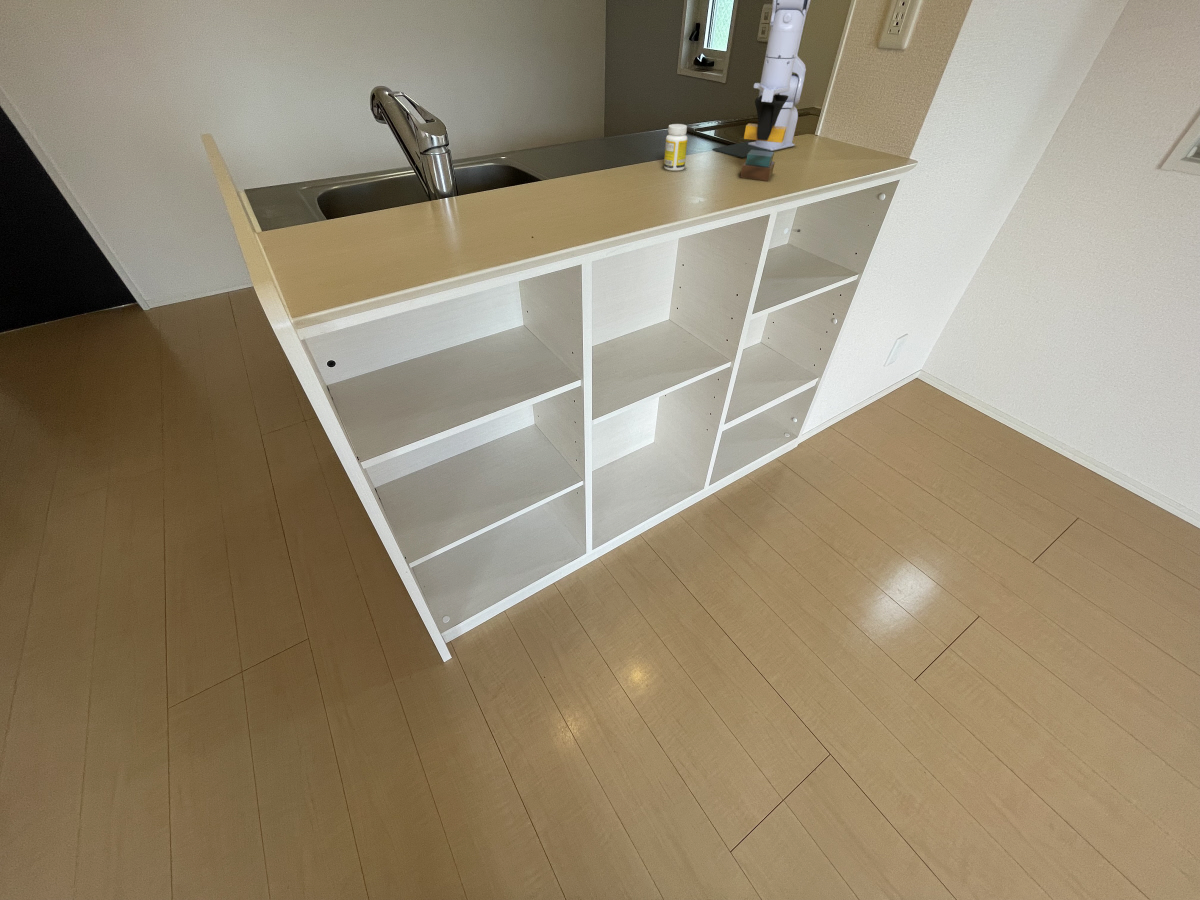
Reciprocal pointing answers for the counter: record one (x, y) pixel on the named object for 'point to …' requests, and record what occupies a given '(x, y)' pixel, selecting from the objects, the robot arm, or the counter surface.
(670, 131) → the supplement bottle
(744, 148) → the mat
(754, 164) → the two-tone stacked block
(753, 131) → the bar
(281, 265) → the counter surface
